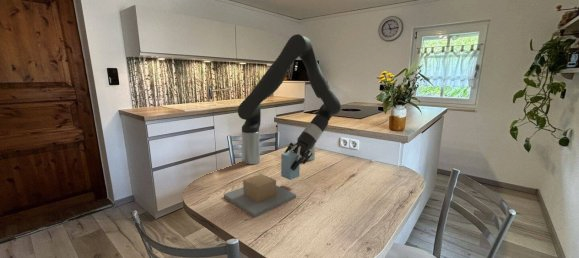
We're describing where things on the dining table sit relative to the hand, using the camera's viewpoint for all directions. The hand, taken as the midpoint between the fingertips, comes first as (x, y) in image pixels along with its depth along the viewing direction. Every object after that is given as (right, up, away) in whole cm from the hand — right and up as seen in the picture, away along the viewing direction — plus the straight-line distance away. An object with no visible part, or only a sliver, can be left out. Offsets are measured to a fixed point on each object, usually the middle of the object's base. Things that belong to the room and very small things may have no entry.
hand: (287, 166), depth 107 cm
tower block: (+1, -4, +2) cm, 5 cm away
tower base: (-11, -11, -8) cm, 17 cm away
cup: (+13, -1, +39) cm, 41 cm away
